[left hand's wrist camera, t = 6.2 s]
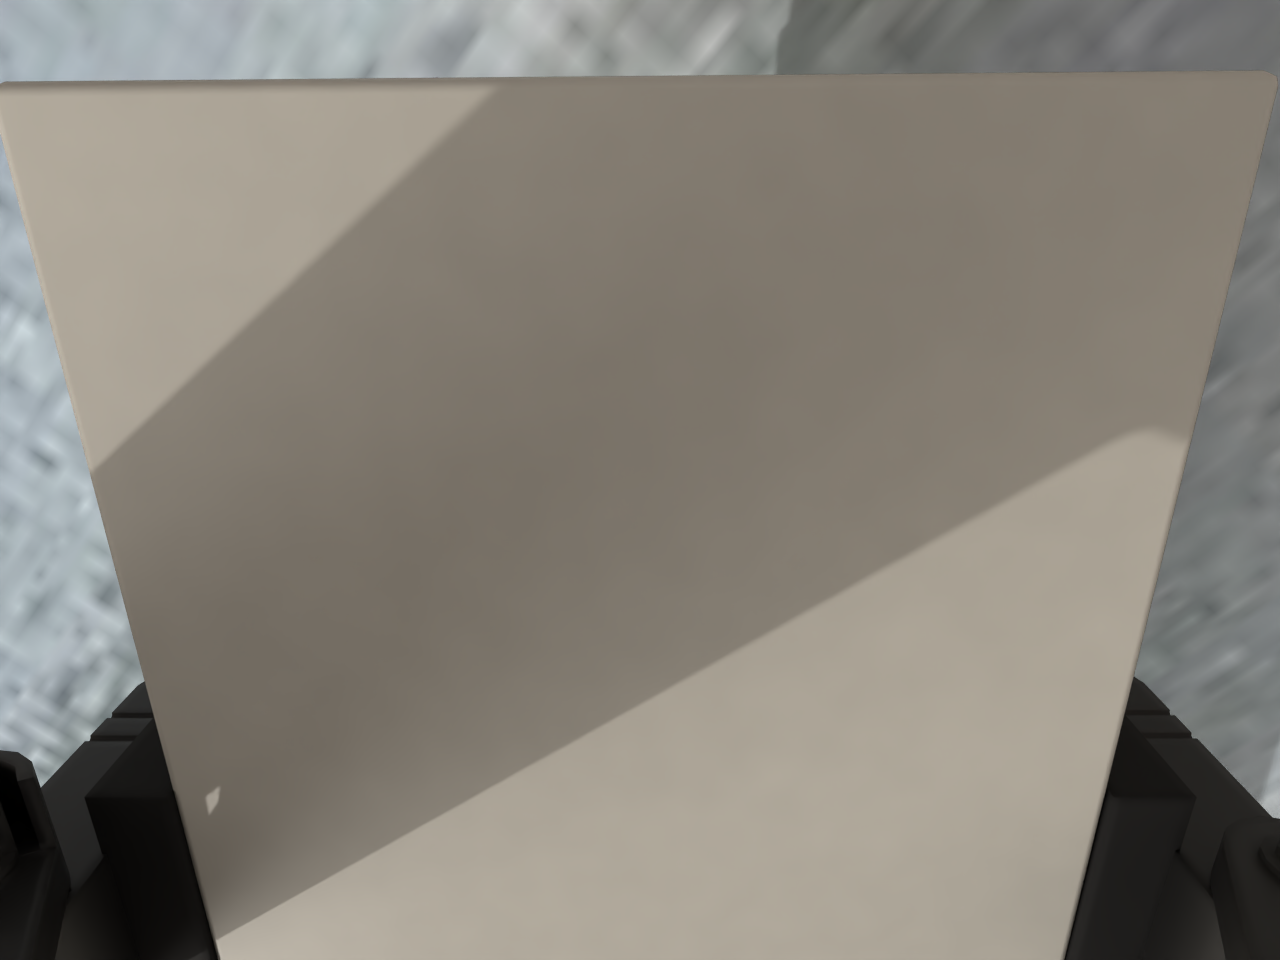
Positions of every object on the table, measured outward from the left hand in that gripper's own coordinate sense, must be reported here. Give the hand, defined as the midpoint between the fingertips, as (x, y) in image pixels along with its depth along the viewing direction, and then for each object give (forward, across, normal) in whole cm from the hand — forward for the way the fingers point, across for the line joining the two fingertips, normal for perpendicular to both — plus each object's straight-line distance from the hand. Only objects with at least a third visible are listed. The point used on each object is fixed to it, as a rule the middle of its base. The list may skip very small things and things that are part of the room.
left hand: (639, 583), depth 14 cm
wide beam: (0, 0, -20) cm, 20 cm away
